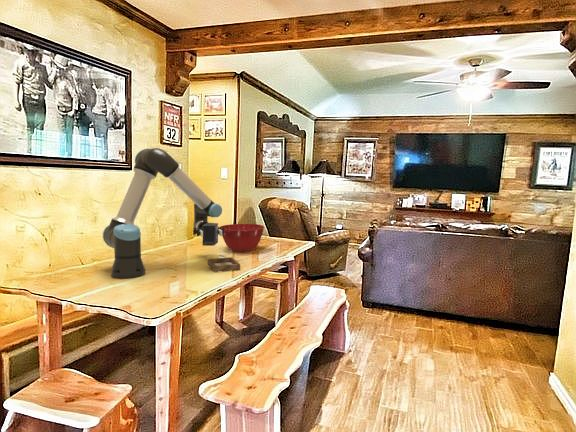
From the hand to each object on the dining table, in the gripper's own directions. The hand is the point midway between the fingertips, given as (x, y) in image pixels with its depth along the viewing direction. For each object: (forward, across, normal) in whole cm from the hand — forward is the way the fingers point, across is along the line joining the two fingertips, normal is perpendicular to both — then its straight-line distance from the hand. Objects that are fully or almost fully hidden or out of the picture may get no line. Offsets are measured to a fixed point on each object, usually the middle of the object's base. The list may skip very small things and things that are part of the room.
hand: (212, 233), depth 192 cm
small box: (-5, 0, -6) cm, 8 cm away
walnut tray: (-4, -7, -19) cm, 20 cm away
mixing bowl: (-45, -28, -19) cm, 56 cm away
